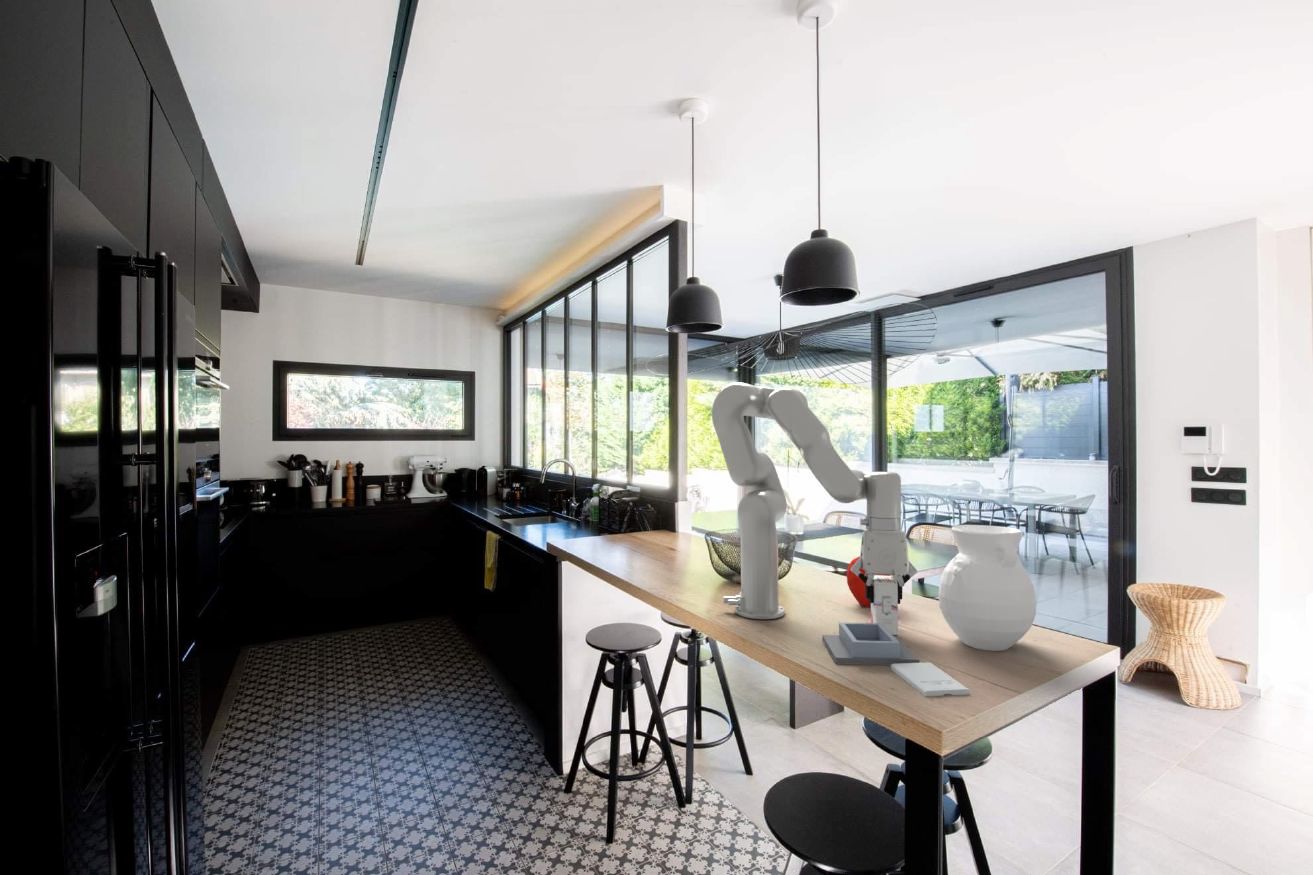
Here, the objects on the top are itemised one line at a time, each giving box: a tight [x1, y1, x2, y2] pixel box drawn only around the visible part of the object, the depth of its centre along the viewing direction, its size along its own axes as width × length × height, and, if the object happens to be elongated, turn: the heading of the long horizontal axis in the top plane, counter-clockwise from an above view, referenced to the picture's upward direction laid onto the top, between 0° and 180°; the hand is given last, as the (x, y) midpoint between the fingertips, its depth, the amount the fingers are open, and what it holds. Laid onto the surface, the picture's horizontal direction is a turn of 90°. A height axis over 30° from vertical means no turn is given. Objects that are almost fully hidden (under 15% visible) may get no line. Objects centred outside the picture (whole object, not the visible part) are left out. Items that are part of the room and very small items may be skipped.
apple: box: [846, 555, 891, 608], centre depth 159 cm, size 12×12×13 cm
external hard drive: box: [890, 662, 971, 697], centre depth 108 cm, size 2×8×12 cm
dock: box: [821, 621, 920, 666], centre depth 123 cm, size 16×14×4 cm
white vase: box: [937, 524, 1037, 652], centre depth 128 cm, size 19×18×25 cm
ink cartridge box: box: [870, 569, 899, 636], centre depth 138 cm, size 9×5×15 cm, turn 168°
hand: (883, 601), depth 138 cm, fingers closed on ink cartridge box, 5 cm apart
